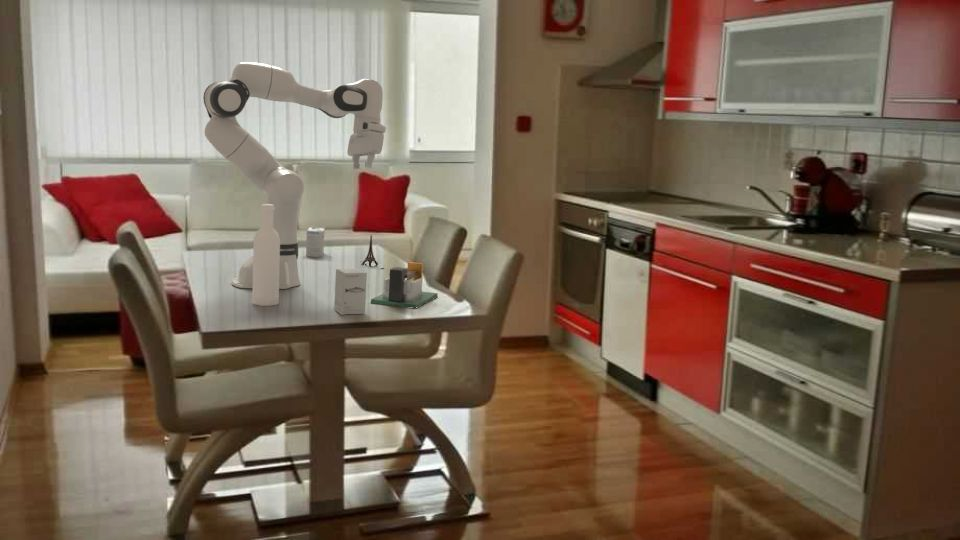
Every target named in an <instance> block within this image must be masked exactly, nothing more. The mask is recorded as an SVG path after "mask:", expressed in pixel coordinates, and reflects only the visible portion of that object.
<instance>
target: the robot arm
mask: <svg viewBox="0 0 960 540" xmlns="http://www.w3.org/2000/svg"><path fill="white" fill-rule="evenodd" d="M383 94H384V93H383V87H382V85H381V84H380V83H379V82H378V81H376V80H373V79H370V78H362V79H360V80H358V81H355V82H351V83H344V84H340V85H338V86H335V87H334V88H331V89H328V90H327V89H326V90H322V89H317V88H313V87H310V86H307V85H306V86H305V85H302V84H300V83H299V82H297V81H296V79H295V77H294V75H293V74H292V72H291V71H289V70H286V69H284V68H282V67H278V66H276V65H272V64H271V65H270V64H268V63H267V64H266V63H261V62H250V61H249V62H248V61H242V62H239V63H238V64H236V66H235V67H234V68H233V70H232V74H231V78H230V79H229V80H227V81H226V80H225V81H224V80H223V81H216V82H213V83H211V84H209V85H208V86H207V87H206V89H204V92H203V104H204V107H205V109H206V112H207V114H208V117H209V119H210V120H209V121H207V123H206V125H205V127H204V136H205V138H206V139H207V140H208V142H209V143H210V144H211V145H212V146H213V148H214V149H215V150H217V152H218V153H219V154H220V155H221V156H222V157H223V158H224V159H225V160H227V161H228V162H229V163H230V164H231V165H233V166H234V167H235V168H236V169H237V170H238V171H240V172H241V173H242V174H243V175H244V176H245V177H246V178H247V179H248V180H249V181H250V182H251V183H252V184H253V185H255V187H256V188H257V189H259V190H260V191H261V192H262V193H263V194H264V195H265V196H266V197H267V203H266V204H272V205H274V221H273V228H274V229H275V230H276V231H277V232H278V234H279V238H280V264H279V290H280V289H281V290H287V289H290V288H294V287H297V286H301V279H300V276H299V268H298V258H299V243H298V221H299V213H300V208H301V203H302V197H303V194H304V189H305V186H304V182H303V180H302V177H301V176H299V174H298V173H297V172H296V171H294V170H291V169H289V168H288V169H287V168H286V167H284V165H282V164H281V163H280V162H279V161H278V160H277V159H276V158H275V157H274V156H273V155H272V154H271V153H270V152H269V150H268V149H267V148H266V147H265V146H264V145H262V144H261V143H260V142H259V141H258V140H257V139H256V138H255V137H254V136H253V135H252V134H250V132H248V130H246V129H244V127H242V126H241V124H240V123H239V122H238V120H237V117H236V116H238V115H239V114H240V113H242V112H243V110H244V108H245V106H246V104H247V102H248V101H249V98H257V99H261V100H262V99H263V100H266V101H271V102H279V103H280V102H283V103H295V104H298V105H302V106H306V107H310V108H314V109H316V110H319V111H321V112H322V113H324V114H325V115H327V116H329V117H330V118H333V119H342V118H344V117H345V116H346V115H347V116H348V115H349V114H352V115H354V117H353V128H352V129H353V130H352V132H353V133H352V134H351V135H350V137H349V140H348V145H347V152H346V153H347V156H349V157H352V163H353V165H352V169H354V170H359V169H360V168H361V167H360V166H361V164H360V159H361V157H365V156H366V157H367V159H366V161H365V164H364V165H365V166H364V168H368V169H371V168H372V167H373V162H374V159H375V158H376V157H375V156H376V155H379V154H381V152H382V150H383V148H384V147H383V146H384V138H385V133H386V129H387V127H386V126H385V125H383V124H381V111H382V109H383V97H384V95H383ZM231 285H233V286H234V287H236V288H240V289H253V256H251V257H250V258H248V259H247V260H245V261H244V262H243V263H242V264H241V265H240V267H239V271H238V277H234V278H232V279H231Z"/></svg>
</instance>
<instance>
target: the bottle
mask: <svg viewBox="0 0 960 540" xmlns="http://www.w3.org/2000/svg"><path fill="white" fill-rule="evenodd" d="M260 206H261V208H260V212H261V218H260V228H259V229H258V230H256V231H255V233H254V237H253V246H252V247H253V251H252V252H253V288H252V294H251V298H252V299H251V301H252V302H251V304H252V305H255V306H260V307H271V306H273V307H274V306H277V305H279V300H280V289H279V264H280V238H279V234H278V232H277V231H276V230H275V229H274V228H273V221H274V205H272V204H267V203H262V204H261V205H260Z"/></svg>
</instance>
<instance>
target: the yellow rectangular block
mask: <svg viewBox="0 0 960 540" xmlns="http://www.w3.org/2000/svg"><path fill="white" fill-rule="evenodd" d="M406 268H408V272H407V275H405V276H404V278H405V279H406V280H407V279H409V278H411V277H412V278H414V281H415V280H417V279H420V278H421V279H422V280H423V274H424V273H423V272H424V263H422V262H412V261H408V262H407V267H406Z"/></svg>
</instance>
